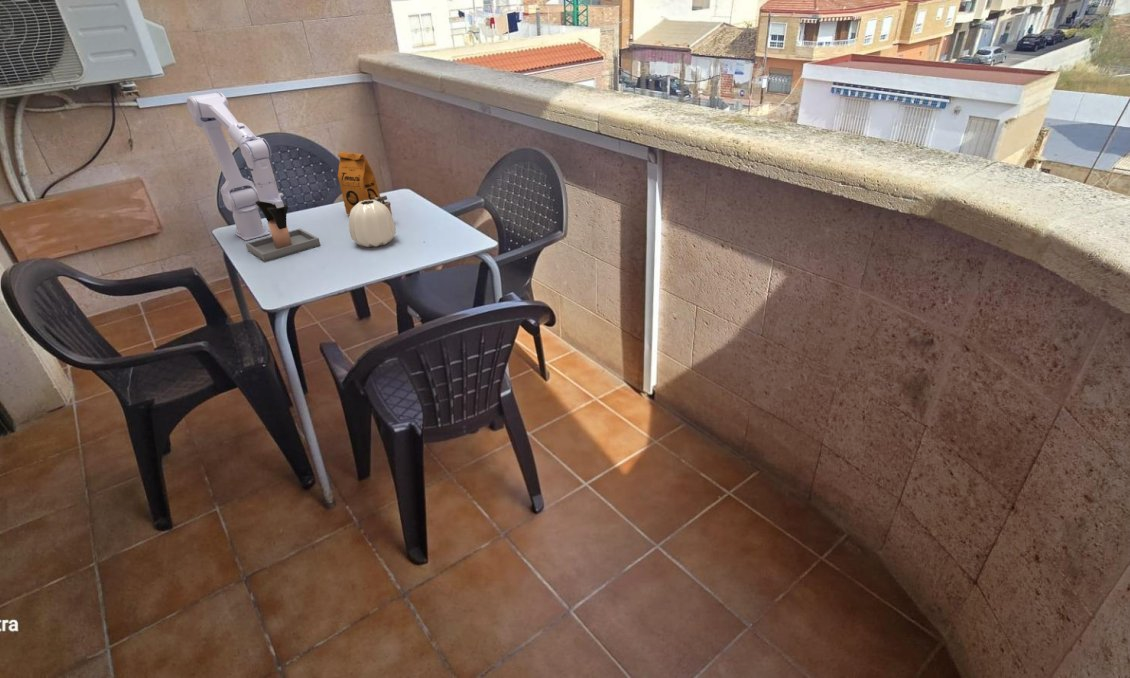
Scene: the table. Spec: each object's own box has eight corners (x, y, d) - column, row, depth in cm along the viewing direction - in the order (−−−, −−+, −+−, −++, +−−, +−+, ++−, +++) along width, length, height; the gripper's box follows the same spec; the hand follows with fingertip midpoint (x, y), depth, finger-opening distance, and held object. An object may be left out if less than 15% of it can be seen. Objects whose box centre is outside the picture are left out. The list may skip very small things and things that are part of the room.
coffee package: (368, 221, 203) (355, 157, 192) (342, 216, 208) (328, 154, 197) (388, 212, 211) (376, 151, 199) (362, 208, 216) (350, 148, 205)
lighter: (377, 230, 195) (371, 201, 190) (370, 228, 197) (365, 199, 192) (396, 223, 201) (391, 195, 195) (390, 221, 202) (384, 193, 197)
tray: (247, 250, 182) (245, 243, 180) (302, 235, 192) (300, 228, 191) (264, 262, 174) (262, 254, 172) (320, 245, 184) (318, 238, 183)
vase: (385, 252, 178) (377, 210, 171) (344, 249, 181) (335, 208, 174) (404, 236, 190) (397, 196, 183) (366, 233, 192) (357, 194, 186)
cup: (272, 246, 183) (265, 221, 178) (288, 241, 186) (281, 217, 181) (279, 250, 180) (271, 225, 175) (294, 245, 183) (288, 221, 178)
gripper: (288, 183, 170) (300, 227, 177) (268, 174, 179) (280, 216, 186) (264, 188, 166) (277, 233, 173) (245, 179, 175) (258, 222, 182)
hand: (277, 225), depth 179 cm, fingers open, 7 cm apart
